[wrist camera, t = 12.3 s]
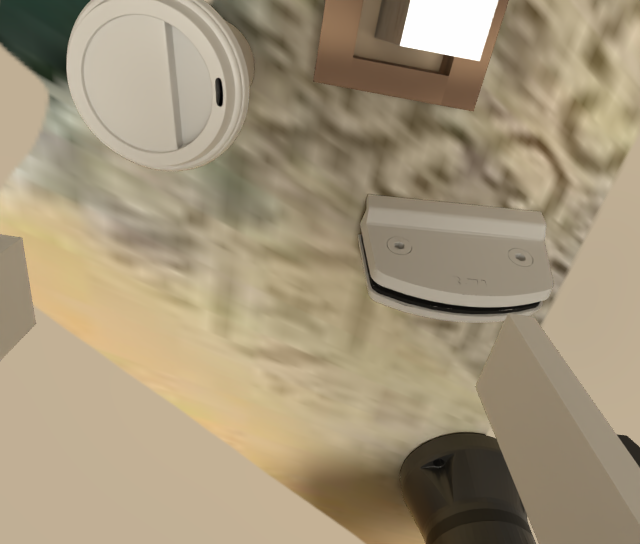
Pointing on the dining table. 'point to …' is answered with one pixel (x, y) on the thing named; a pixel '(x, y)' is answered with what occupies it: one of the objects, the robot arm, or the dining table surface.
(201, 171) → the dining table surface
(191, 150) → the coffee cup
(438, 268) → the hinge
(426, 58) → the frame
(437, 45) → the bracket
